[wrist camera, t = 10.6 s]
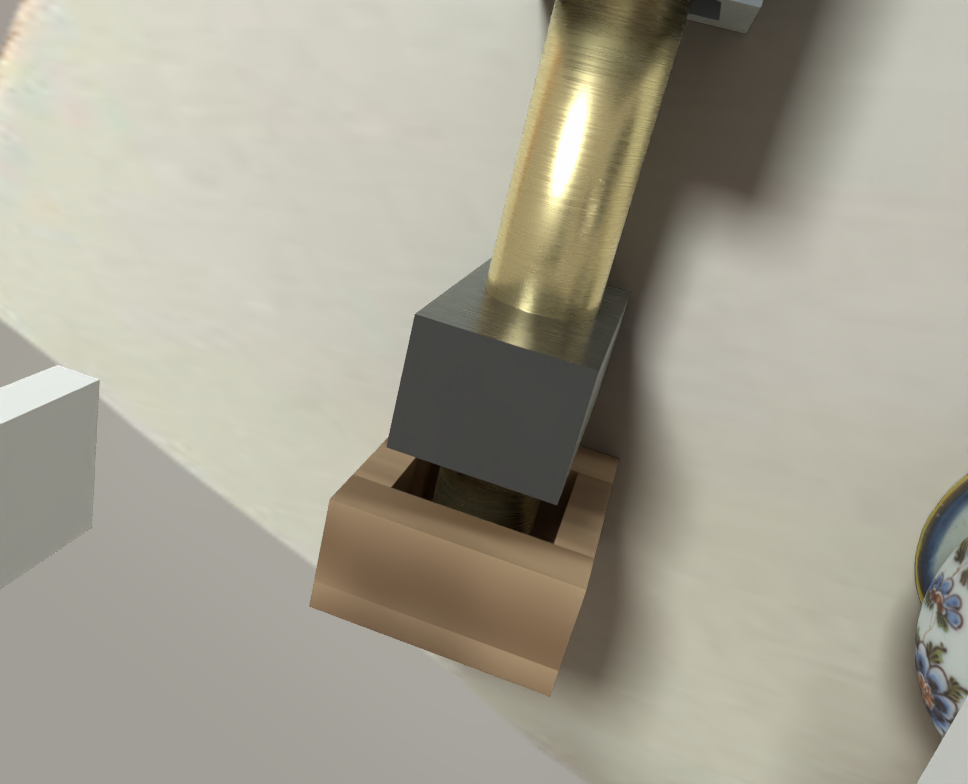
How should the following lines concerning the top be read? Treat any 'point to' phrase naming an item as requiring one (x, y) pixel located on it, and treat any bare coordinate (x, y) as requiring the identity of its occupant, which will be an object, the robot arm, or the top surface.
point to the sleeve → (725, 13)
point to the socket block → (462, 566)
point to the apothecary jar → (944, 607)
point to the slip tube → (542, 274)
